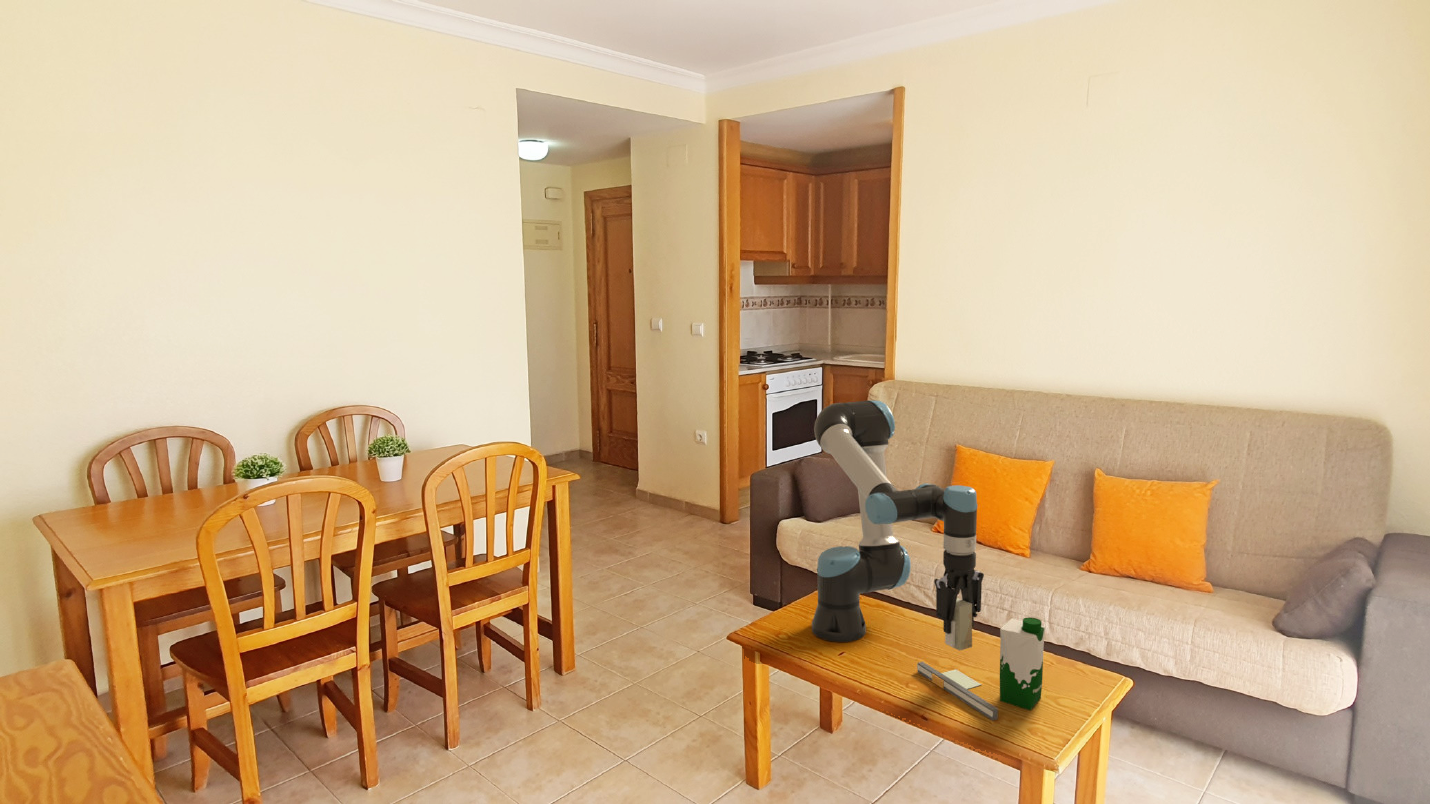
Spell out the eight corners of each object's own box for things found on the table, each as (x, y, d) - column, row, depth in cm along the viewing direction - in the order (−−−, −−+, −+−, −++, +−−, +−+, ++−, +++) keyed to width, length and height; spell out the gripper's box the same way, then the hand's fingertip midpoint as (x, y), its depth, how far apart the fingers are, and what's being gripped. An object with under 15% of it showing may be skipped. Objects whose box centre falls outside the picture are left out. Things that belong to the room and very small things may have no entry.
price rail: (916, 672, 206) (916, 663, 205) (922, 670, 206) (922, 661, 206) (991, 721, 182) (991, 710, 182) (997, 718, 183) (997, 708, 183)
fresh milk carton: (1033, 713, 185) (1036, 629, 182) (994, 701, 191) (996, 620, 188) (1046, 698, 192) (1049, 617, 189) (1007, 686, 197) (1009, 608, 194)
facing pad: (933, 676, 204) (933, 675, 204) (955, 669, 206) (955, 669, 206) (958, 691, 195) (958, 691, 195) (981, 685, 198) (981, 684, 198)
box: (972, 647, 198) (973, 603, 197) (959, 651, 196) (960, 607, 195) (957, 639, 203) (957, 596, 201) (943, 643, 201) (944, 600, 199)
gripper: (941, 561, 189) (940, 656, 192) (998, 549, 197) (996, 641, 200) (920, 552, 196) (919, 644, 199) (976, 541, 203) (975, 630, 206)
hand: (958, 642), depth 199 cm, fingers closed on box, 4 cm apart
